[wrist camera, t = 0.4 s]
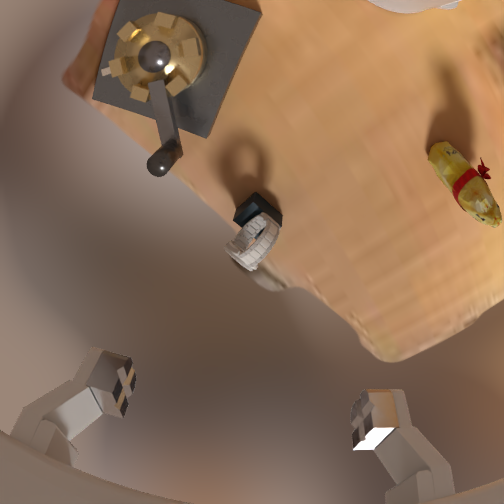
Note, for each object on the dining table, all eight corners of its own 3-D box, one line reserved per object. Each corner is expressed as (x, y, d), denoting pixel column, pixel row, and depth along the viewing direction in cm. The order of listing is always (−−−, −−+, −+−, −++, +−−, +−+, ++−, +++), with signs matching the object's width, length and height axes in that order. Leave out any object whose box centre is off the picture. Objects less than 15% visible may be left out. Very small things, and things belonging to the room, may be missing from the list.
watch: (228, 216, 49) (212, 262, 41) (264, 184, 45) (255, 226, 36) (254, 238, 51) (245, 287, 43) (291, 208, 47) (289, 255, 38)
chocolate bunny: (456, 201, 42) (498, 263, 30) (418, 154, 39) (462, 208, 27) (485, 175, 38) (535, 230, 26) (449, 123, 35) (506, 167, 23)
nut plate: (134, -19, 27) (127, -21, 26) (262, 14, 30) (260, 12, 28) (99, 95, 38) (91, 99, 37) (209, 134, 41) (205, 139, 39)
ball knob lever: (119, 28, 30) (80, 31, 23) (200, 5, 28) (175, -2, 21) (147, 154, 41) (119, 182, 35) (223, 144, 40) (207, 171, 33)
